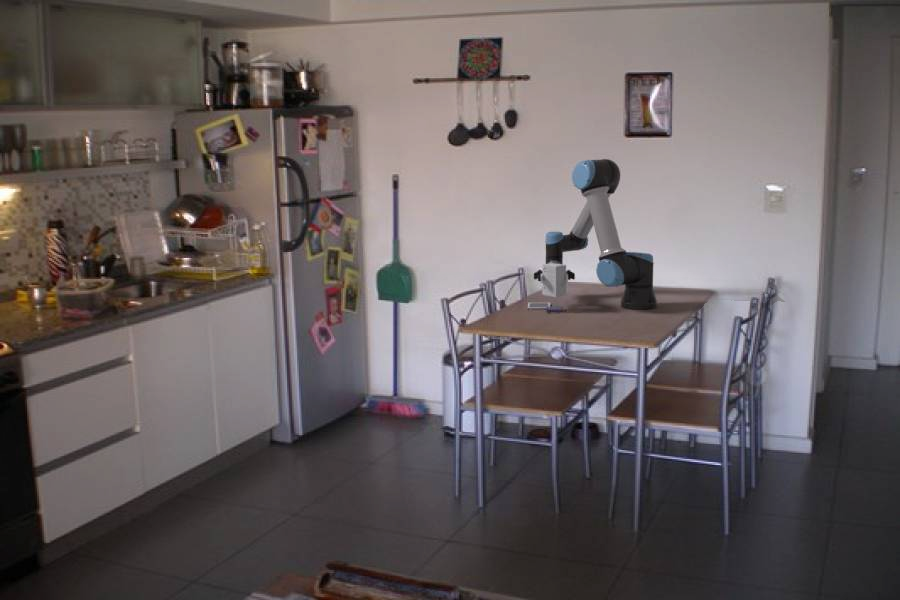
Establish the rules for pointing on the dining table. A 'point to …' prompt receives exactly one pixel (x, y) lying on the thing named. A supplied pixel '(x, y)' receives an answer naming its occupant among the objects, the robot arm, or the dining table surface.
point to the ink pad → (555, 309)
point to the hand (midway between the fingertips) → (554, 279)
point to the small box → (554, 280)
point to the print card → (538, 305)
